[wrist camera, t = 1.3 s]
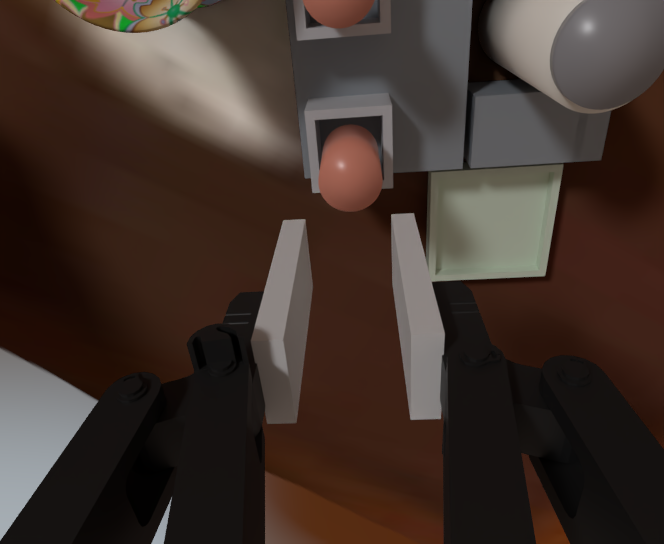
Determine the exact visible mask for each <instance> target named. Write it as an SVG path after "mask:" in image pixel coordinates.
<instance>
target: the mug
mask: <svg viewBox="0 0 664 544" xmlns="http://www.w3.org/2000/svg"><path fill="white" fill-rule="evenodd" d="M54 1H56V2H57V3H58V4H59V5H61V6H62V7H63V8H65V9H66V10H68V11H69V12H71V13H72V14H74V15H75V16H77V17H79V18H81V19H83V20H85V21H87V22H89V23H91V24H94V25H96V26H99V27H102V28H105V29H109V30H113V31H119V32H126V33H140V32H149V31H154V30H159V29H162V28H165V27H168V26H170V25H172V24H174V23H176V22H178V21H180V20H181V19H183V18H185V17H186V16H187V15H189V14H190V13H191V12H192V11H194V10H195V9H196V8H201V7H206V6H210V5H213V4H215V3H217V2H220V1H221V0H54Z"/></svg>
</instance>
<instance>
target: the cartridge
mask: <svg viewBox="0 0 664 544" xmlns="http://www.w3.org/2000/svg"><path fill="white" fill-rule="evenodd" d="M478 37H479V41H480V44H481V47H482V49H483V51H484V52H485V54H486V55H487V56H488V57H489V58H490V59H491V60H493V61H494V62H496V63H497V64H499V65H500V66H502V67H503V68H505V69H506V70H508V71H510V72H511V73H513V74H514V75H516V76H517V77H519V78H521V79H522V80H524V81H525V82H527V83H528V84H530V85H532V86H533V87H535V88H536V89H538V90H539V91H541V92H542V93H544V94H546V95H547V96H549V97H550V98H552V99H553V100H555V101H557V102H558V103H560V104H561V105H563V106H564V107H566V108H568V109H570V110H573V111H576V112H580V113H587V114H593V113H603V112H607V111H611V110H614V109H616V108H619V107H621V106H623V105H625V104H627V103H629V102H630V101H632V100H633V99H635V98H636V97H638V96H639V95H641V94H642V93H643V92H644V91H646V90H647V89H648V88H649V87H650V86H651V85H652V84H653V83H654V82H655V80H656V79H657V78H658V77H659V75H660V74H661V72H662V71H663V69H664V0H486V2H485V3H484V5H483V7H482V10H481V13H480V16H479V21H478Z"/></svg>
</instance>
